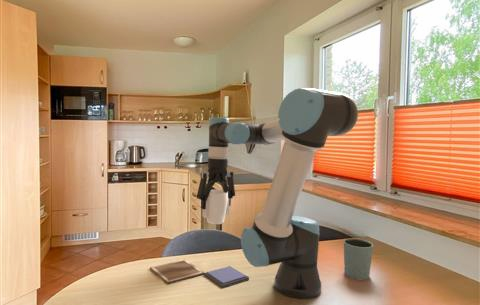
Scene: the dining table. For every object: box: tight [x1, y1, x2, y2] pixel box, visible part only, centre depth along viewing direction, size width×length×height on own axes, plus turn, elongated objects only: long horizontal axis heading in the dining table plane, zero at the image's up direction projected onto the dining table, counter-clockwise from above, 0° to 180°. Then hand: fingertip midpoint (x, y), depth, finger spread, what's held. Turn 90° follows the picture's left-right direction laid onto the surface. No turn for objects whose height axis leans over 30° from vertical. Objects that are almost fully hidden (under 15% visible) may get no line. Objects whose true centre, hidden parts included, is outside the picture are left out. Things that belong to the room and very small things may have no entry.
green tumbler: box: [343, 238, 374, 281], centre depth 121 cm, size 10×10×12 cm
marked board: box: [149, 258, 205, 285], centre depth 116 cm, size 14×14×1 cm
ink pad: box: [203, 265, 250, 289], centre depth 114 cm, size 11×11×1 cm
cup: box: [206, 189, 228, 225], centre depth 128 cm, size 9×9×12 cm
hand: (215, 215), depth 128 cm, fingers closed on cup, 9 cm apart
